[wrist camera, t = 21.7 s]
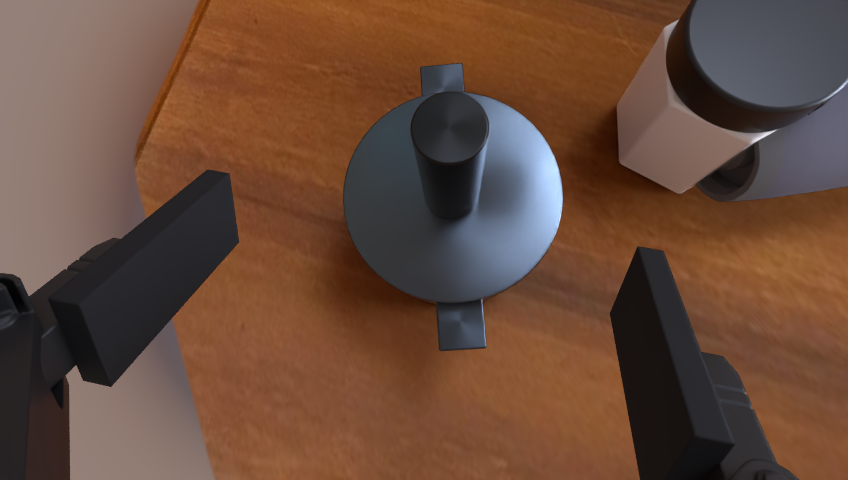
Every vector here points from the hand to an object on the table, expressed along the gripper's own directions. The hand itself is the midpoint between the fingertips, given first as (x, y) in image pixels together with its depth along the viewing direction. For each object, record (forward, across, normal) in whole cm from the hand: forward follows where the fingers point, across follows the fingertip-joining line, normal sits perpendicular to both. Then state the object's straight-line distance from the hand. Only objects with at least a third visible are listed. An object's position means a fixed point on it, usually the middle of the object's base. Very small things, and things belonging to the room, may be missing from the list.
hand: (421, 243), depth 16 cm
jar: (+23, +14, -3) cm, 28 cm away
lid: (+10, 0, -3) cm, 10 cm away
